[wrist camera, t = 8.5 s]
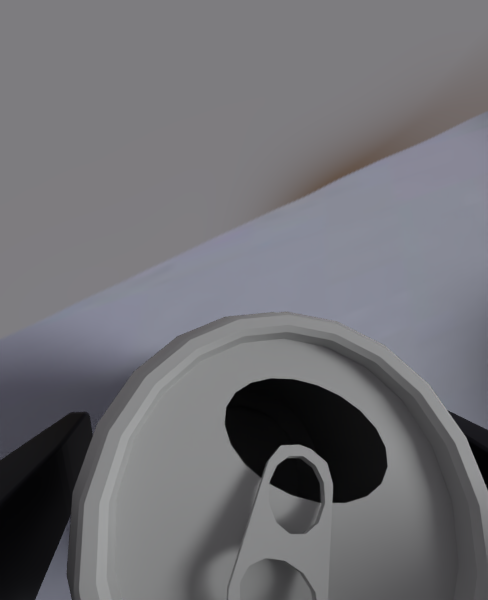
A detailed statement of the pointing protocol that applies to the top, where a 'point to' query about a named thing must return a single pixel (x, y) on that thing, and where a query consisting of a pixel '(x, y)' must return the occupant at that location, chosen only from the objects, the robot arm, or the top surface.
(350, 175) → the top surface
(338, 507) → the can
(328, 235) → the top surface
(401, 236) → the top surface
